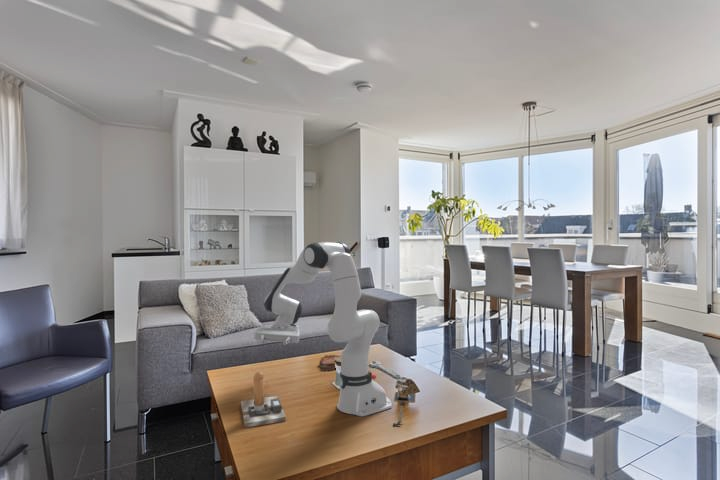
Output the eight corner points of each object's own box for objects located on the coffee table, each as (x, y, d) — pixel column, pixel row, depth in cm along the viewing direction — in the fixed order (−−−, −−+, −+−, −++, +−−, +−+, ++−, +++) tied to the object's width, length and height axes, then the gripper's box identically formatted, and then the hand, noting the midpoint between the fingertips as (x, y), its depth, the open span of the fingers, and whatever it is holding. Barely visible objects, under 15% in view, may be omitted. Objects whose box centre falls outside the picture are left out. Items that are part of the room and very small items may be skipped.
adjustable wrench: (401, 379, 189) (401, 375, 189) (390, 381, 186) (390, 377, 186) (377, 363, 211) (377, 359, 211) (366, 364, 209) (366, 361, 209)
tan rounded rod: (263, 408, 153) (263, 369, 153) (264, 412, 149) (264, 373, 149) (253, 409, 151) (253, 370, 151) (254, 414, 148) (254, 374, 147)
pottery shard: (317, 362, 214) (317, 355, 214) (345, 359, 217) (345, 352, 217) (321, 372, 198) (321, 364, 198) (351, 369, 201) (351, 362, 201)
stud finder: (278, 404, 156) (278, 398, 156) (281, 411, 150) (281, 405, 150) (270, 405, 155) (270, 399, 155) (273, 413, 149) (273, 406, 149)
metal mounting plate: (277, 399, 165) (277, 393, 165) (285, 420, 146) (285, 414, 146) (241, 404, 159) (241, 399, 159) (244, 427, 141) (244, 421, 141)
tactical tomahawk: (410, 431, 140) (410, 428, 140) (392, 427, 142) (392, 424, 142) (415, 405, 161) (415, 402, 161) (399, 402, 162) (400, 399, 162)
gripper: (258, 322, 181) (250, 333, 167) (301, 325, 181) (297, 337, 167) (257, 335, 181) (249, 347, 168) (301, 338, 182) (296, 351, 168)
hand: (273, 342), depth 168 cm, fingers open, 8 cm apart
